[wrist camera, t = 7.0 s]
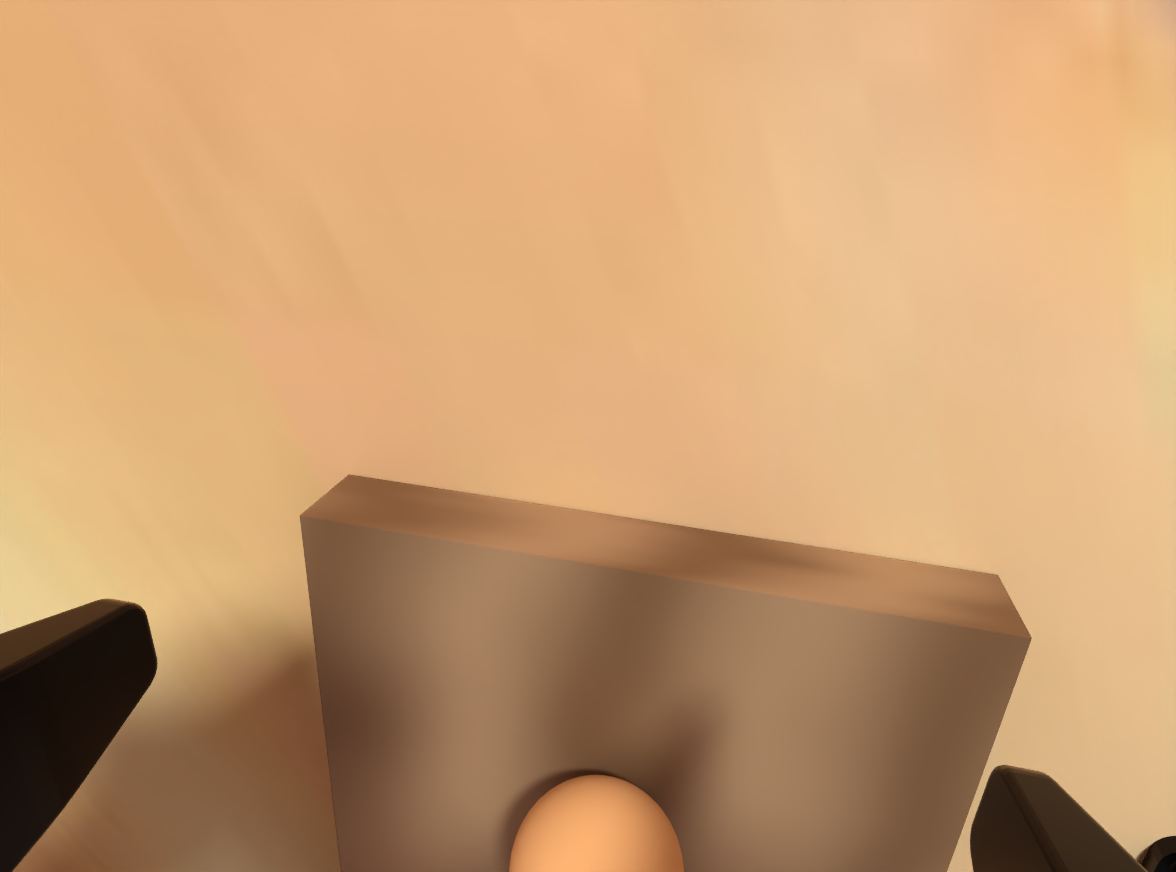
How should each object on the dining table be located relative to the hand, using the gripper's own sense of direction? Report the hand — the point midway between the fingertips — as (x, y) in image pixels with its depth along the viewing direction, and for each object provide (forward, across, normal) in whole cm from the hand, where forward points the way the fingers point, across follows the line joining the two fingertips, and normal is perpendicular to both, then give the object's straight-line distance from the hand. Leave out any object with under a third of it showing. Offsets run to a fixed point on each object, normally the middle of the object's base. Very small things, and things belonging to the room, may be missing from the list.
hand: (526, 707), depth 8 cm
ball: (+4, 0, +8) cm, 9 cm away
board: (+8, 0, +13) cm, 15 cm away
